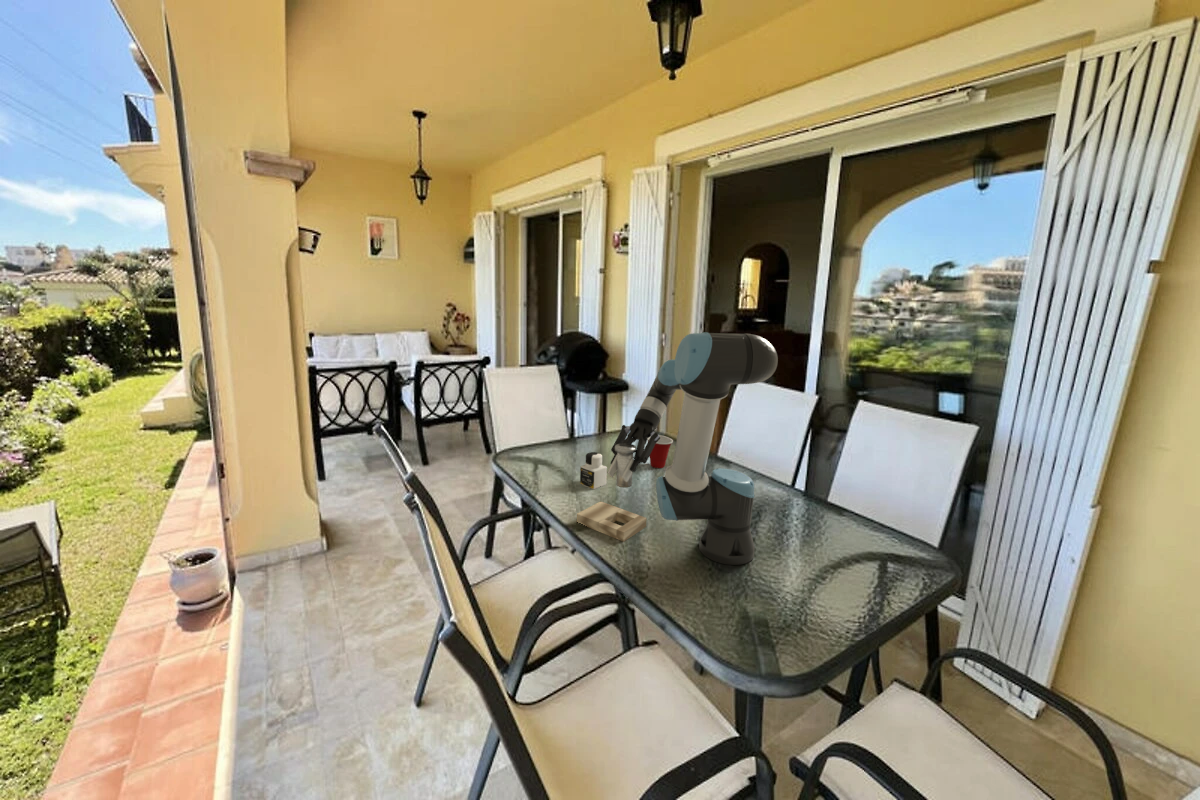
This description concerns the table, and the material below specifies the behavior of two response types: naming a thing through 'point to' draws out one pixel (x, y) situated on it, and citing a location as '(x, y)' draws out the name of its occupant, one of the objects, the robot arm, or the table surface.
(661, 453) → the plastic cup
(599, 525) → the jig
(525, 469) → the table surface
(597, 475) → the medicine bottle
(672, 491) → the robot arm
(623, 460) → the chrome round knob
